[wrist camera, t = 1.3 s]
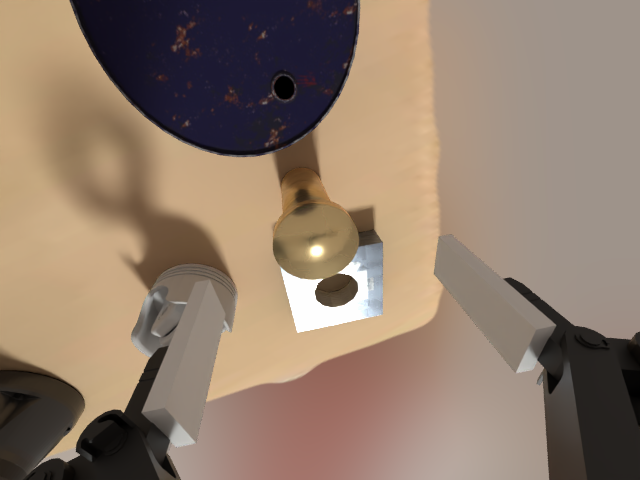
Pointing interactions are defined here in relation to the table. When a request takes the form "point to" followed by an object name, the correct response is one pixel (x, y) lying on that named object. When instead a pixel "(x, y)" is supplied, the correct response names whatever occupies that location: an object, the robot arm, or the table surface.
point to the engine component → (178, 305)
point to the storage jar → (226, 65)
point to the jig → (349, 301)
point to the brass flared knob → (312, 229)
